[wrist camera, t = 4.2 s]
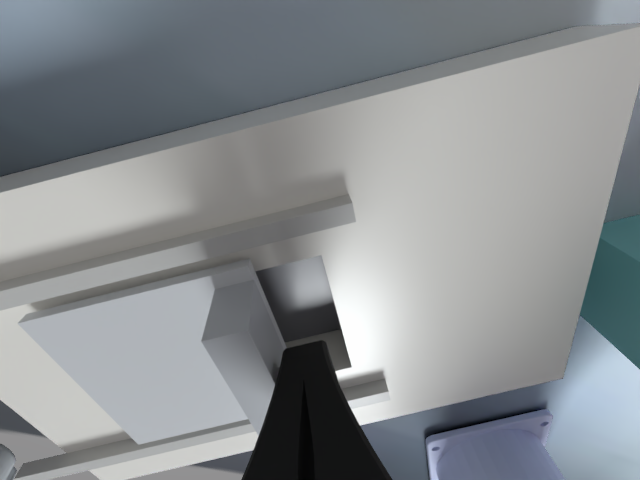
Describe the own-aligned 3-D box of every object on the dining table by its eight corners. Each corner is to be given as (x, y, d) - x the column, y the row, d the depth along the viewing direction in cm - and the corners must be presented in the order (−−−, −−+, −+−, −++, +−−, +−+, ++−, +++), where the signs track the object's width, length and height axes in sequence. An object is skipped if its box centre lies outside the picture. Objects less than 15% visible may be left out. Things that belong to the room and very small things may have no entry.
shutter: (306, 395, 13) (311, 459, 11) (141, 434, 14) (117, 504, 12) (249, 258, 10) (241, 315, 8) (26, 313, 10) (-40, 383, 8)
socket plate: (528, 337, 17) (572, 390, 15) (91, 440, 18) (59, 508, 15) (576, 26, 10) (681, 20, 7) (-158, 218, 11) (-301, 275, 8)
